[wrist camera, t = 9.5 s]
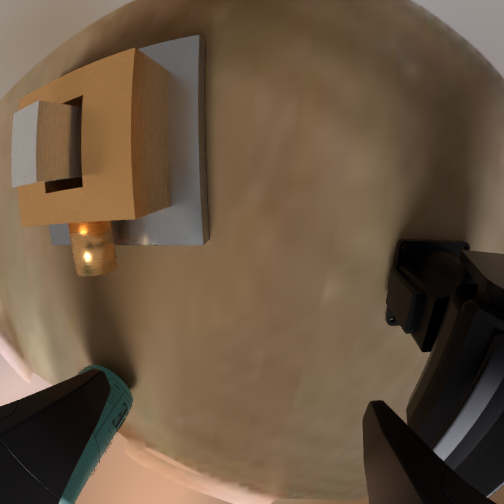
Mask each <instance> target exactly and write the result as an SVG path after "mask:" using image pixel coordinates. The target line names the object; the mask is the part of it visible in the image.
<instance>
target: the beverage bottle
mask: <svg viewBox="0 0 504 504" xmlns="http://www.w3.org/2000/svg"><path fill="white" fill-rule="evenodd" d="M93 368H97V369H100V370H103V371H104V372H105V373H106V376H107V379H108V381H109V384H110V386H111V392H110V395H109V397H108V399H107V402H106V404H105V407H104V409H103V412H102V414H101V417H100V419H99V422H98V424H97V426H96V428H95V430H94V432H93V434H92V436H91V438H90V440H89V442H88V443H87V445H86V447H85V449H84V451H83V453H82V455H81V457H80V459H79V461H78V463H77V465H76V467H75V470H74V472H73V474H72V476H71V478H70V480H69V482H68V484H67V486H66V489H65V491H64V493H63V495H62V497H61V499H60V502H59V504H75V501H76V500H77V498H78V496H79V494H80V493H81V491H82V489H83V487H84V485H85V484H86V482H87V480H88V478H89V477H90V475H91V473H92V472H93V470H95V467H96V466H97V464H98V462H100V459H101V457H102V455H103V454H104V452H105V450H106V448H107V447H108V445H109V443H110V442H111V440H112V439H113V436H114V435H115V434H116V432H117V431H118V429H119V428H120V426H121V425H123V424H122V423H123V422H124V420H126V418H127V417H126V415H127V414H128V411H129V410H131V409H130V408H131V406H132V401H133V397H132V394H131V392H130V390H129V388H128V387H127V385H126V384H125V383H124V382H123V381H122V380H121V379H120V378H119V377H118V376H117V375H116V374H114V373H113V372H112V371H110V370H108V369H106V368H104V367H102V366H99V365H90V366H88V367H86V368H85V367H84V369H83V370H82V369H81V370H82V371H81V370H80V372H81V373H80V372H78V373H80V374H82V373H84V372H86V371H88V370H91V369H93ZM77 375H78V374H77ZM125 417H126V418H125ZM124 418H125V419H124ZM122 421H123V422H122ZM118 432H119V431H118Z"/></svg>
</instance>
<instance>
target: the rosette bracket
mask: <svg viewBox="0 0 504 504" xmlns="http://www.w3.org/2000/svg"><path fill="white" fill-rule="evenodd" d="M205 46H206V43H205V42H204V40H203V39H202V38H201V36H200V35H194V36H189V37H184V38H179V39H175V40H170V41H166V42H162V43H158V44H154V45H150V46H147V47H143V48H140V49H137V48H132V49H129V50H126V51H123V52H120V53H117V54H114V55H111V56H108V57H106V58H103V59H101V60H98V61H95V62H93V63H91V64H88V65H86V66H83V67H81V68H79V69H77V70H74V71H72V72H70V73H68V74H66V75H64V76H62V77H60V78H58V79H56V80H54V81H52V82H50V83H48V84H46V85H44V86H43V87H41V88H39V89H37V90H35V91H34V92H32V93H30V94H29V95H27V96H25V97H24V98H22V99H20V103H19V110H21V109H23V108H25V107H27V106H29V105H31V104H33V103H34V102H36V101H38V100H42V101H48V102H54V103H60V104H66V105H71V106H77V107H82V125H81V159H82V177H78V178H70V179H63V180H55V181H49V182H42V183H36V184H30V185H24V186H19V187H18V196H19V207H20V215H21V223H22V227H27V226H38V225H49V229H50V235H51V242H52V245H71V248H72V253H73V259H74V264H75V269H76V273H77V275H79V276H85V277H88V276H97V275H101V274H105V273H108V272H110V271H112V270H114V269H115V268H116V267H117V266H118V264H117V258H116V252H115V245H204V244H205V243H206V242H207V241H208V240H209V239H210V237H209V220H208V200H207V176H206V142H205Z"/></svg>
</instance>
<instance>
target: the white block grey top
mask: <svg viewBox="0 0 504 504" xmlns="http://www.w3.org/2000/svg"><path fill="white" fill-rule="evenodd" d="M81 125H82V107H77V106H71V105H66V104H60V103H54V102H48V101H42V100H38V101H36V102H34V103H33V104H31V105H29V106H27V107H25V108H23V109H21V110H19V111H18V112H16V113H14V118H13V132H12V188H13V187H19V186H24V185H30V184H36V183H42V182H49V181H55V180H63V179H70V178H78V177H82V159H81Z"/></svg>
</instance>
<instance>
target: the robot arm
mask: <svg viewBox="0 0 504 504" xmlns="http://www.w3.org/2000/svg"><path fill="white" fill-rule="evenodd" d="M404 244H406V248H405V249H404V250H402V246H403V245H404ZM464 246H465V249H464V250H463V247H464ZM386 304H387V306H388V308H387V313H386V322H387V324H388V325H390V326H397V325H400V326H401V327H402V329H403V331H404V332H405V333H406V334H411V335H412V337H413V338H414V340H415V342H416V343H417V345H418V346H419V348H420V350H421V351H422V352H431V353H430V356H429V358H428V360H427V363H426V365H425V367H424V370H423V372H422V374H421V376H420V379H419V381H418V383H417V385H416V387H415V389H414V391H413V393H412V395H411V397H410V400H409V403H408V406H407V409H406V413H407V424H408V425H407V424H406V423H405V422H404V421H403V420H402V419H401V418H400V417H399V416H398V415H397V414H396V413H395V412H394V411H393V410H392V409H391V408H390V407H389V406H388V405H387V404H386V403H385V402H384V401H382V400H376V401H370V402H369V404H368V407H367V409H366V412H365V414H364V417H363V448H364V467H365V474H366V482H367V489H368V498H369V504H496V503H495V502H493V501H492V500H490V499H489V497H490V496H492V495H493V494H494V493H495V492H496V491H497V490H499V489H500V488H501V487H502V486H503V485H504V254H497V253H488V252H479V251H470V246H469V244H468V243H467V242H464V241H446V240H417V239H402V240H400V241H399V242H398V244H397V249H396V257H395V265H394V268H393V270H392V271H391V274H390V281H389V287H388V293H387V299H386ZM392 317H394V319H393V320H390V319H391V318H392ZM110 392H111V386H110V384H109V381H108V379H107V376H106V373H105V372H104V371H103V370H100V369H97V368H93V369H91V370H88V371H86V372H84V373H82V374H79V375H77V376H75V377H72V378H70V379H68V380H65V381H63V382H61V383H58V384H56V385H54V386H51V387H49V388H47V389H44V390H42V391H39V392H37V393H35V394H32V395H29V396H27V397H25V398H22V399H20V400H17V401H14V402H12V403H9V404H6V405H3V406H0V504H59V502H60V499H61V497H62V495H63V493H64V491H65V489H66V486H67V484H68V482H69V480H70V478H71V476H72V474H73V472H74V470H75V467H76V465H77V463H78V461H79V459H80V457H81V455H82V453H83V451H84V449H85V447H86V445H87V443H88V442H89V440H90V438H91V436H92V434H93V432H94V430H95V428H96V426H97V424H98V422H99V419H100V417H101V414H102V412H103V409H104V407H105V404H106V402H107V399H108V397H109V395H110Z"/></svg>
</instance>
